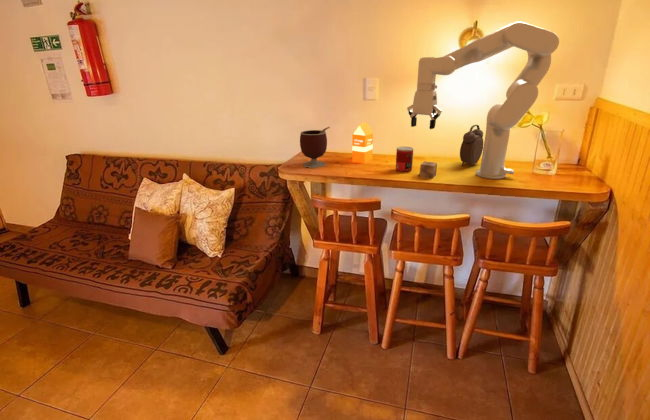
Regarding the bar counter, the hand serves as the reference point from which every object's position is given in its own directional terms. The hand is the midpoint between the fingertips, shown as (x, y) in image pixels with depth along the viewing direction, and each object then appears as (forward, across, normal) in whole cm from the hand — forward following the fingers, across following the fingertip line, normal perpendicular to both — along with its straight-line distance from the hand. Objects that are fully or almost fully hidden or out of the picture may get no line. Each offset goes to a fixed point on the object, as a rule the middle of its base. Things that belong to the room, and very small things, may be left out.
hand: (422, 127), depth 160 cm
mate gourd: (+21, +46, +25) cm, 57 cm away
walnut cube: (+21, -6, +2) cm, 22 cm away
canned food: (+21, +8, +2) cm, 23 cm away
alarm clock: (+22, -10, -28) cm, 37 cm away
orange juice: (+21, +35, +2) cm, 41 cm away
